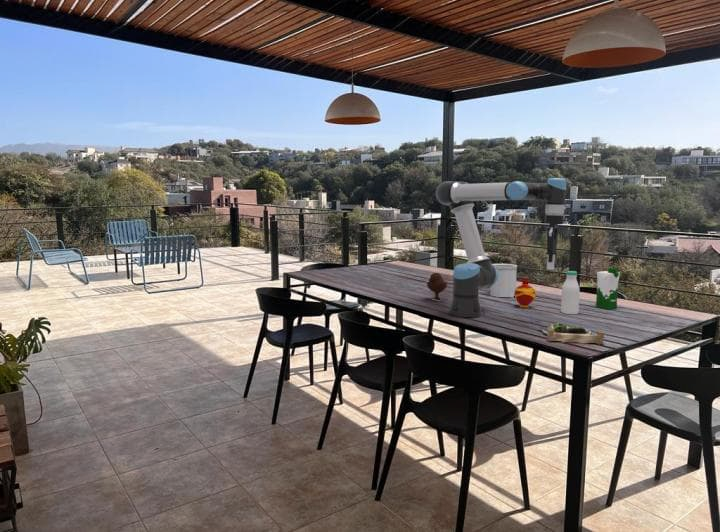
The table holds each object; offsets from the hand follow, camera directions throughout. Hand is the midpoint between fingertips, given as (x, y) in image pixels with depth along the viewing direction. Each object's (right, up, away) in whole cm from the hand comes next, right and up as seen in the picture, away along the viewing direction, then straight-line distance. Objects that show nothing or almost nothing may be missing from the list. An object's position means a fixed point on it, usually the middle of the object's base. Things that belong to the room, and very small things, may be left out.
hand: (550, 269), depth 217 cm
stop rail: (-2, -27, -30) cm, 41 cm away
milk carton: (+41, -20, +34) cm, 56 cm away
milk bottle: (+17, -21, +21) cm, 34 cm away
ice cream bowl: (-41, -17, +52) cm, 68 cm away
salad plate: (0, -26, -19) cm, 32 cm away
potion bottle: (0, -19, +35) cm, 40 cm away
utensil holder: (-2, -16, +66) cm, 67 cm away
